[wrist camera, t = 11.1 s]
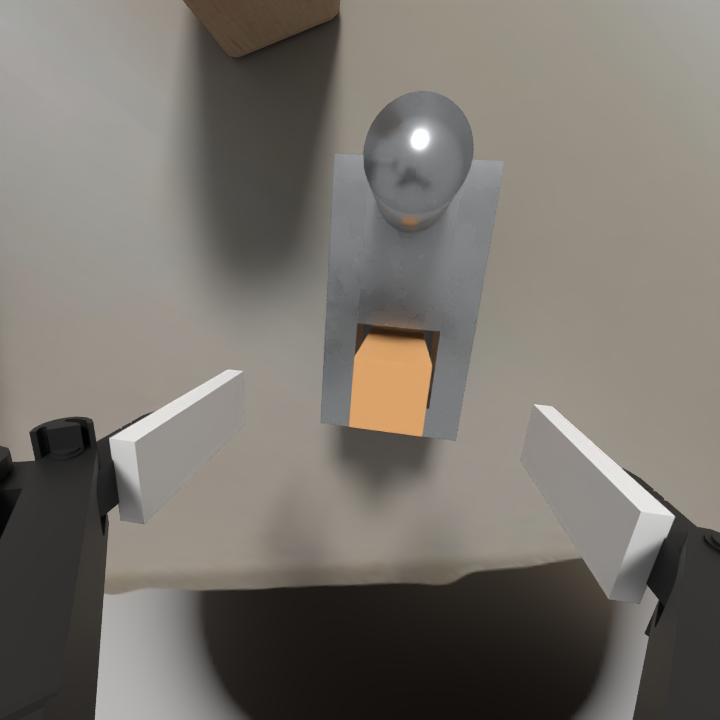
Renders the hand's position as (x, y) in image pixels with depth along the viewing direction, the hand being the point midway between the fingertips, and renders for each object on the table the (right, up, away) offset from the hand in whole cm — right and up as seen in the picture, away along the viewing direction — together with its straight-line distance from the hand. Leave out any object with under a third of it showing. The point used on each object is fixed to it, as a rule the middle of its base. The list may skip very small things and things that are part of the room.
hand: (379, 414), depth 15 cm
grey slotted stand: (+3, +8, +16) cm, 18 cm away
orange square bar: (+2, +4, +16) cm, 17 cm away
